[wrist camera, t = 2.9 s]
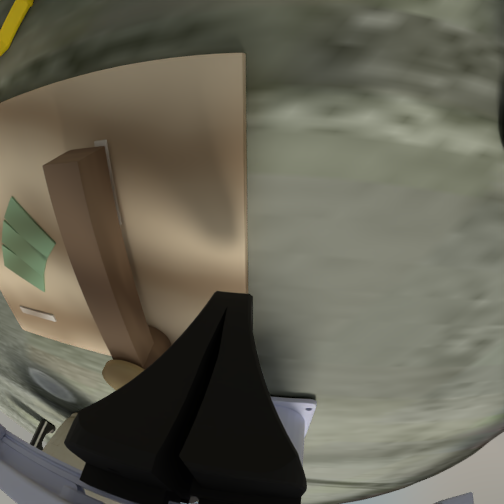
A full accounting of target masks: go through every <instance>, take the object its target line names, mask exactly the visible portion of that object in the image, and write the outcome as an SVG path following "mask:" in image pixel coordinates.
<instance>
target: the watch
mask: <svg viewBox="0 0 504 504" xmlns="http://www.w3.org/2000/svg"><path fill="white" fill-rule="evenodd" d="M33 1H34V0H16V1H15V2H14V4H13V6H12V8H11V10H10V12H9V14H8V16H7V18H6V20H5V22H4V24H3V26H2V28H1V30H0V56H1V55H2V54H3V53H4V52H5V51H6V50H7V49H9V46H10V44H11V42H12V40H13V38H14V36H15V34H16V32H17V30H18V28H19V26H20V24H21V22H22V20H23V19H24V17H25V15H26V13H27V11H28V10H29V8H30V6H32V5H33Z"/></svg>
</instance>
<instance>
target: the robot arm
mask: <svg viewBox="0 0 504 504" xmlns="http://www.w3.org/2000/svg"><path fill="white" fill-rule="evenodd" d="M316 406H317V402H316V401H315V400H313V399H299V398H283V397H271V396H270V394H269V392H268V389H267V386H266V383H265V380H264V377H263V374H262V371H261V367H260V364H259V360H258V356H257V352H256V347H255V342H254V336H253V297H252V296H251V295H250V294H245V293H233V292H222V291H216V292H215V293H214V294H213V295H212V297H211V298H210V300H209V301H208V302H207V304H206V305H205V306H204V308H203V309H202V310H201V312H200V313H199V314H198V316H197V317H196V318H195V319H194V321H193V322H192V323H191V324H190V325H189V327H188V328H187V329H186V330H185V331H184V332H183V334H182V335H181V336H180V337H179V338H178V339H177V340H176V341H175V342H174V343H173V344H172V345H171V346H170V347H169V348H168V349H167V350H166V351H165V352H164V353H163V354H162V355H161V356H160V357H159V358H158V359H157V360H156V361H155V362H153V363H152V364H151V365H150V366H149V367H148V368H146V369H145V370H144V371H143V372H141V373H140V374H139V375H138V376H136V377H135V378H134V379H132V380H131V381H130V382H128V383H127V384H125V385H124V386H122V387H121V388H119V389H118V390H116V391H114V392H113V393H111V394H110V395H108V396H107V397H105V398H103V399H101V400H99V401H98V402H96V403H94V404H92V405H90V406H88V407H86V408H84V409H82V410H80V411H79V412H78V414H77V415H76V417H75V419H74V420H73V423H72V425H71V427H70V429H69V432H68V434H67V436H66V439H65V441H64V444H65V446H66V447H67V448H68V449H69V450H70V451H71V452H72V453H74V454H75V455H76V456H78V457H79V458H80V459H82V460H83V461H84V462H86V463H85V466H84V469H83V471H82V470H80V469H77V468H75V467H73V466H71V465H69V464H67V463H65V462H63V461H60V460H58V459H56V458H54V457H53V456H51V455H49V454H47V453H45V452H43V451H41V450H39V449H38V448H36V447H34V446H32V445H30V444H29V443H27V442H25V441H24V440H22V439H20V438H19V437H17V436H15V435H13V434H12V433H11V432H9V431H7V430H6V429H5V427H3V426H2V425H1V424H0V489H1V490H2V491H3V492H4V493H6V494H7V495H8V496H9V497H10V498H11V499H13V500H14V501H15V502H17V503H18V504H106V503H104V502H102V501H99V500H97V499H95V498H92V497H90V496H88V495H86V494H85V490H84V489H86V490H88V491H91V492H93V493H95V494H98V495H100V496H103V497H105V498H108V499H110V500H113V501H115V502H118V503H121V504H180V502H183V503H187V504H188V503H191V504H197V503H194V502H196V501H198V500H199V502H198V504H301V496H302V495H303V494H304V493H305V491H306V489H307V483H306V477H305V474H304V470H303V467H302V466H303V451H304V438H305V436H306V433H307V430H308V428H309V425H310V422H311V420H312V417H313V414H314V412H315V409H316ZM83 488H84V489H83ZM434 504H474V502H473V493H472V492H469V493H466V494H463V495H459V496H456V497H452V498H448V499H445V500H442V501H439V502H436V503H434Z"/></svg>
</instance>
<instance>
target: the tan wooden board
mask: <svg viewBox="0 0 504 504" xmlns="http://www.w3.org/2000/svg"><path fill="white" fill-rule="evenodd" d="M99 146H105V151H106V157H107V163H108V169H109V175H110V180H111V186H112V191H113V196H114V201H115V206H116V210H117V215H118V219H119V224H120V228H121V232H122V237H123V241H124V245H125V249H126V253H127V256H128V260H129V264H130V268H131V271H132V275H133V279H134V282H135V286H136V289H137V292H138V296H139V299H140V302H141V306H142V309H143V312H144V315H145V318H146V321H147V324H148V325H150V326H152V327H154V328H156V329H158V330H160V331H161V332H163V333H164V334H165V335H166V336H167V337H168V339H169V340H170V343H171V345H172V344H173V343H174V342H175V341H176V340H177V339H178V338H179V337H180V336H181V335H182V334H183V332H184V331H185V330H186V329H187V328H188V327H189V325H190V324H191V323H192V322H193V321H194V319H195V318H196V317H197V316H198V314H199V313H200V312H201V310H202V309H203V308H204V306H205V305H206V304H207V302H208V301H209V300H210V298H211V297H212V295H213V294H214V293H215V292H216V291H222V292H233V293H245V294H248V235H247V144H246V54H245V53H221V54H205V55H193V56H183V57H174V58H166V59H159V60H152V61H146V62H140V63H134V64H128V65H123V66H118V67H113V68H109V69H104V70H100V71H96V72H92V73H88V74H84V75H80V76H76V77H73V78H69V79H66V80H62V81H59V82H56V83H52V84H49V85H46V86H43V87H40V88H37V89H34V90H32V91H29V92H26V93H23V94H21V95H18V96H16V97H13V98H11V99H8V100H6V101H3V102H1V103H0V290H1V292H2V294H3V295H4V297H5V299H6V301H7V303H8V305H9V306H10V308H11V310H12V312H13V314H14V315H15V317H16V319H17V320H18V322H19V324H20V325H21V327H22V329H23V330H26V331H28V332H31V333H34V334H37V335H40V336H43V337H46V338H50V339H53V340H56V341H59V342H63V343H66V344H69V345H73V346H76V347H80V348H83V349H87V350H91V351H94V352H98V353H102V354H106V355H110V356H111V354H110V352H109V350H108V348H107V346H106V344H105V342H104V340H103V338H102V336H101V334H100V332H99V329H98V327H97V325H96V323H95V321H94V319H93V316H92V314H91V312H90V310H89V307H88V305H87V303H86V300H85V298H84V295H83V293H82V291H81V288H80V286H79V283H78V281H77V278H76V275H75V273H74V270H73V267H72V265H71V262H70V259H69V256H68V254H67V251H66V248H65V245H64V242H63V239H62V236H61V233H60V230H59V226H58V223H57V220H56V217H55V213H54V210H53V206H52V203H51V199H50V195H49V191H48V187H47V183H46V179H45V175H44V171H43V165H44V164H46V163H48V162H50V161H51V160H53V159H55V158H56V157H58V156H60V155H62V154H64V153H65V152H67V151H69V150H73V149H81V148H90V147H99Z"/></svg>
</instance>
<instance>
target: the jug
mask: <svg viewBox="0 0 504 504" xmlns="http://www.w3.org/2000/svg"><path fill="white" fill-rule="evenodd" d="M77 414H78V413H73V414H72V415H71V416H70V417H69V418H68V419H66V420H65V421H64V422H63V424H62V425H61V426H60V427H59V429H58V430H57V431H56V433H55V434H54V435H53V436H52V438H51V439H50V441H49V442H48V443H47V445H46V446H45V447H44V449H43V450H42V451H43V452H45V453H47V454H49V455H51V456H53V457H54V458H56V459H58V460H60V461H63V462H65V463H67V464H69V465H71V466H73V467H75V468H77V469H80V470H82V471H83V469H84V466H85V463H86V462H84V461H83V460H82V459H80V458H79V457H78V456H76V455H75V454H74V453H72V452H71V451H70V450H69V449H68V448H67V447H66V446H65V444H64V441H65V439H66V436H67V434H68V432H69V429H70V427H71V425H72V423H73V420H74V419H75V417H76V415H77ZM83 489H84V488H83ZM84 490H85V494H86V495H88V496H90V497H92V498H95V499H97V500H99V501H102V502H104V503H106V504H121V503H118V502H115V501H113V500H110V499H108V498H105V497H103V496H100V495H98V494H95V493H93V492H91V491H88V490H86V489H84Z"/></svg>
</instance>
